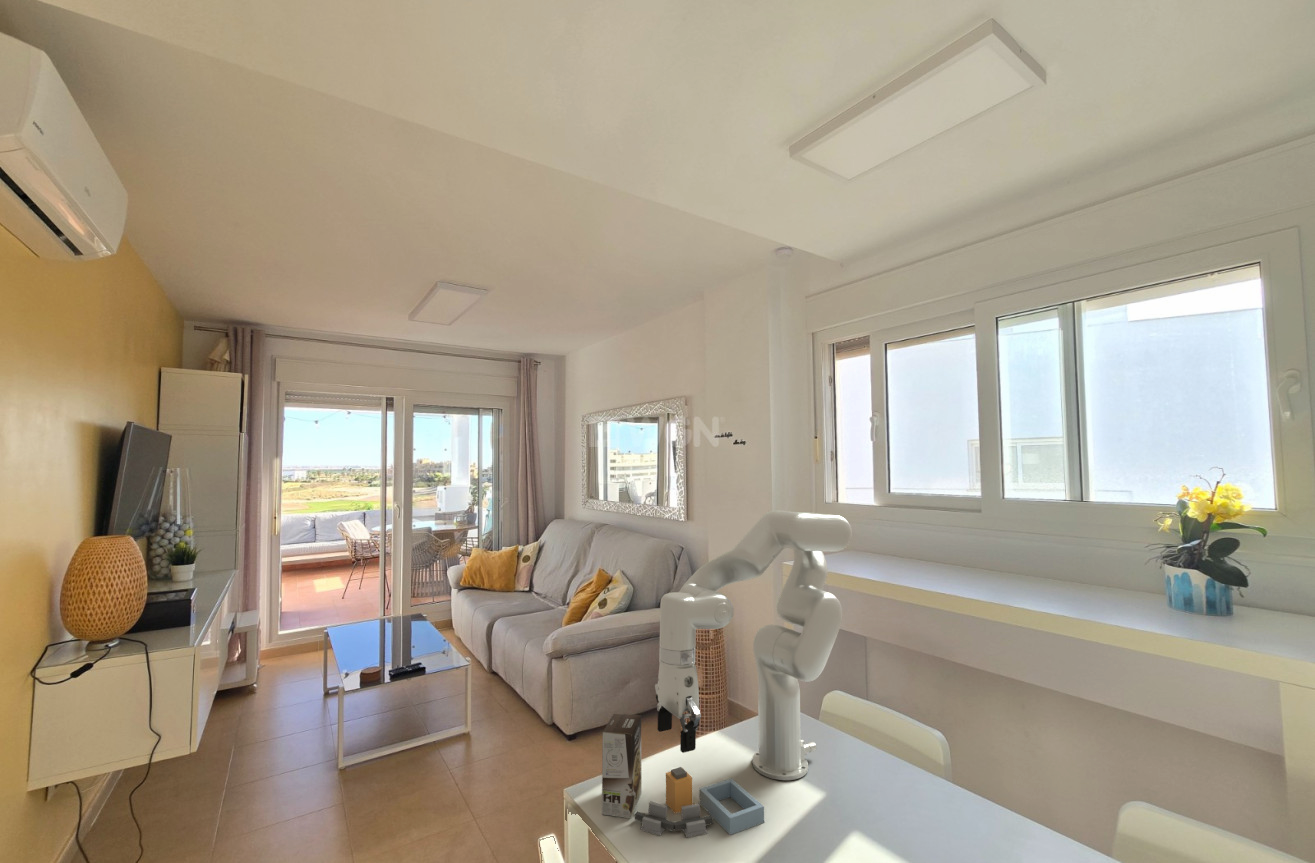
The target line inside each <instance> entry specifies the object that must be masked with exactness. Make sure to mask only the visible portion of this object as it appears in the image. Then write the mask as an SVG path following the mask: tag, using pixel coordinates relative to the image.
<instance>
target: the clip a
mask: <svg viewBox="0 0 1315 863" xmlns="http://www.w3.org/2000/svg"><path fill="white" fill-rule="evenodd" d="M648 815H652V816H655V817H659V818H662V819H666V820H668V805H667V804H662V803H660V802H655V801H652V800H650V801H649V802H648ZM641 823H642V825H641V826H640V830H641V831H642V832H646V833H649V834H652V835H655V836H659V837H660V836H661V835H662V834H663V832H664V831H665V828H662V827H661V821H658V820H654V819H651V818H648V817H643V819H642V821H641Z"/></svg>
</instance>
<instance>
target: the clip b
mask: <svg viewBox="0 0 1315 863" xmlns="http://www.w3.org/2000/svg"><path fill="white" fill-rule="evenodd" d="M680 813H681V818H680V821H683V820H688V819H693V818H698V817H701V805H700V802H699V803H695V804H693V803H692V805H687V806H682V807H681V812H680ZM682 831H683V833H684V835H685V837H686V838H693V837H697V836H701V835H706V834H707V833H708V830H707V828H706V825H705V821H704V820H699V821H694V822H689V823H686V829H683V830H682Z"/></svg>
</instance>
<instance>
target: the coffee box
mask: <svg viewBox="0 0 1315 863" xmlns="http://www.w3.org/2000/svg"><path fill="white" fill-rule="evenodd" d="M601 744H602V745H601V746H602V749H601V750H602V752H601V754H602V757H601V758H602V763H601V769H602V770H601V777H602V778H601V784H602V785H601V814H602V815H604V816H605V815H606V816H612V817H621V818H626V819H631V818H632V816H633V815H634V812H635V809H636V807H637V804H638V802H639V799H640V798H641V797H640V796H641V794H642V715H640V714H628V713H626V714H625V713H624V714H619V713H613V715H612V716H611V718H610V719H609V721H608V723H607V724H606V725H605V728H604V729H603V730H602V743H601Z"/></svg>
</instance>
